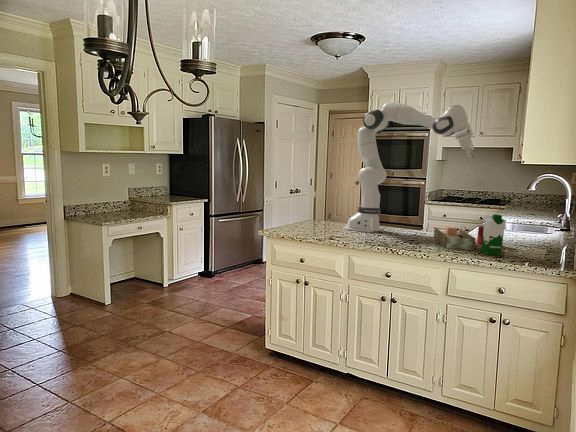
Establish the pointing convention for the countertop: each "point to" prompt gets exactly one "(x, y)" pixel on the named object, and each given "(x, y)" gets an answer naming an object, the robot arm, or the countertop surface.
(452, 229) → the block
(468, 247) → the trap box
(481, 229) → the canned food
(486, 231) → the milk carton
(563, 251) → the countertop surface
